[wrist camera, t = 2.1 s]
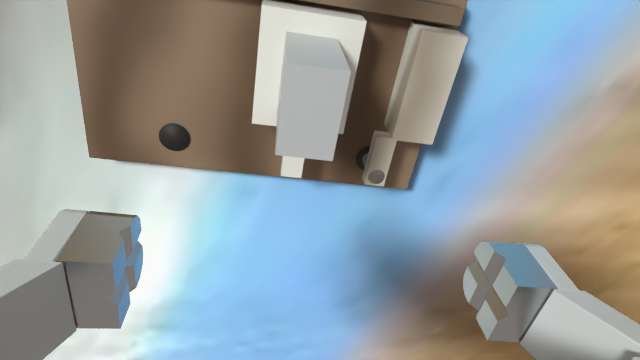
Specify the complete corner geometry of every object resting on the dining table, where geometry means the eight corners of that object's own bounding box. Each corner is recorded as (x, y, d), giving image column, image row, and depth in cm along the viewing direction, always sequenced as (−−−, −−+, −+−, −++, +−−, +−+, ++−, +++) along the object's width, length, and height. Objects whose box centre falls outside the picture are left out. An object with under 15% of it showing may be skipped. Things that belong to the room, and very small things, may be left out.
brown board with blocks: (458, -6, 23) (485, 6, 20) (401, 177, 29) (415, 208, 26) (70, -74, 20) (31, -71, 17) (98, 145, 26) (73, 176, 23)
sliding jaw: (360, 13, 22) (388, 50, 16) (329, 164, 26) (342, 236, 20) (263, -3, 21) (254, 30, 15) (250, 155, 26) (239, 227, 20)
